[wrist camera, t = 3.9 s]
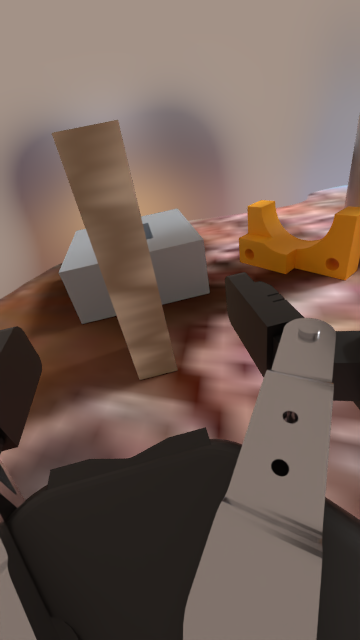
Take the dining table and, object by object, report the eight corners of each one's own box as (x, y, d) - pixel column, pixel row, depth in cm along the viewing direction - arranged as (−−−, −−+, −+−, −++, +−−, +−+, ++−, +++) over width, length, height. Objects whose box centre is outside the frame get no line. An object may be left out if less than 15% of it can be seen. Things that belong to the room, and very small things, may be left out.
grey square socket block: (184, 250, 42) (177, 208, 39) (209, 293, 30) (203, 239, 27) (91, 271, 41) (76, 231, 38) (81, 323, 30) (58, 272, 26)
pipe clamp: (239, 262, 36) (237, 210, 32) (261, 250, 38) (261, 200, 34) (336, 288, 27) (347, 222, 24) (356, 271, 29) (370, 207, 26)
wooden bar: (168, 336, 25) (117, 123, 16) (177, 370, 22) (117, 119, 13) (136, 345, 25) (66, 133, 16) (139, 380, 22) (51, 133, 12)
